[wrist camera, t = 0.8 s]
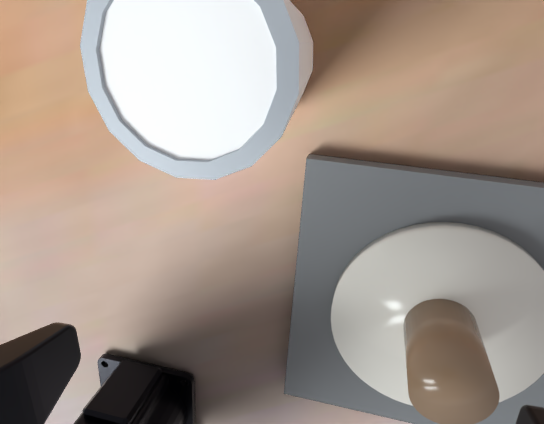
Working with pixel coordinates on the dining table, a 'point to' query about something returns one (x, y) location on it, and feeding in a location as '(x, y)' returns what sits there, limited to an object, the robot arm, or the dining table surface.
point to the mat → (370, 226)
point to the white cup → (196, 78)
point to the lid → (442, 319)
